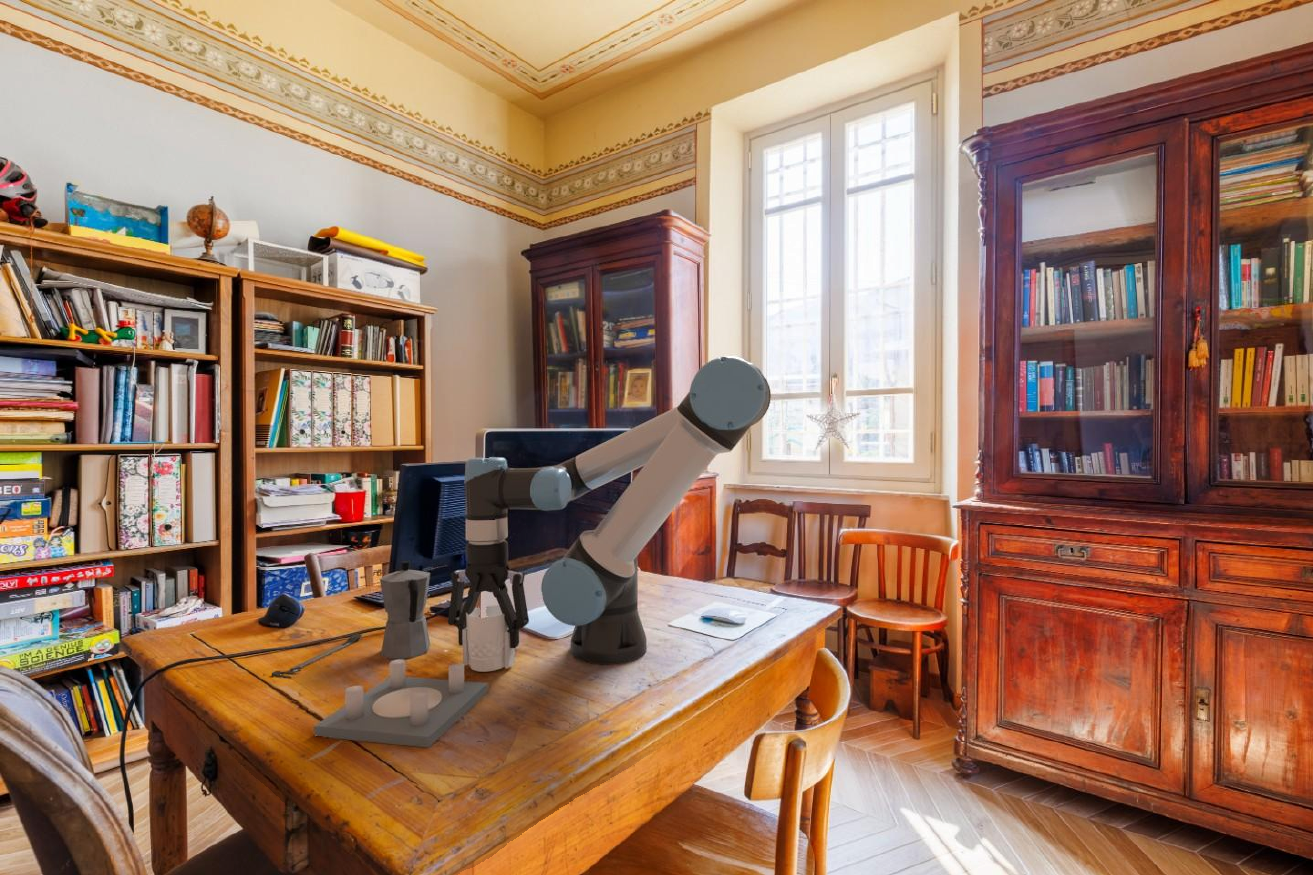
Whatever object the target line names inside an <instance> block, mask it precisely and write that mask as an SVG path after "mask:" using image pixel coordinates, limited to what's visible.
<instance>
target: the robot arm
mask: <svg viewBox="0 0 1313 875" xmlns="http://www.w3.org/2000/svg"><path fill="white" fill-rule="evenodd" d="M771 397H772V394H771V389H770V384H769V382H768V381H767V379H766V377H765V376H764V374H763V372H762V370H760V368H758V367H757V366H756V365H755V364H754V363H752V362H750V361H748V360H747V359H746V358H742V357H739V356H731V355H730V356H729V355H728V356H719V357H716V358H714V359H712V360H710V361H708V362H706V363H705V364H703V365H702V366H701V367H700V368H699V370H697V372H696V374H695V375H694V377H693V379H692V381H691V384H690V388H689V391H688V393H686V396H685V397H684V398H683V399H682V401H681V402H680V404H679V405H678V406H676V407H673V408H672V409H669V410H668V411H666V412H663V413H662V414H659V415H656V417H654V418H651V419H649V420H647V421H646V422H643V423H640V424H639V425H637V426H634V427H633V428H631V429H629V430H627V431H624V432H622V433H621V434H619V435H617V436H614V437H612V438H610V439H609V440H607V441H605V442H602V443H599V444H598V445H596V446H594V447H592V448H590V449H588V450H586V451H584V452H582V453H580V454H578V455H576V456H574V457H572V458H570V459H569V458H568V460H565V461H563V462H560V463H559V464H555V465H550V466H541V467H528V468H527V467H525V468H523V467H522V468H514V467H509V466H508V461H507V459H506V458H505V457H501V456H500V457H499V456H497V457H496V456H490V457H489V456H488V457H489V458H482V457H472V458H469V459H468V460H467V461H466V462H465V467H464V468H465V471H464V481H463V484H464V492H465V493H464V495H465V496H464V497H465V540H466V541H468V542H467V543H466V544H465V561H466V567H465V568H464V569H458V570H455V571H454V572H451V573H450V579H451V584H452V585H451V586H452V588H451V594H450V601H449V610H448V617H447V618H448V619H447V623H448V625H449V626H454V627H457V630H458V636H457V637H458V645H459V646H461V647H462V664H464V666H469V665H470V660H469V651H468V640H467V624H466V613H468V615H469V614H471V613H472V612H473V611H474V608H476V606H477V603H478V600H479V598H480V595H481V594H482V593H483V592H488V593H492V595H493V596H494V598H495V599H496V601H497V604H498V605H499V606H500V609H501V611H502V614H504V619H505V622H506V624H507V627H508V630H506V631H505V632H504V639H505V666H504V668H507V669H509V668H510V667H511V666H513V665H514V664H515V663H516V650H515V649H516V648H517V647H519V644H520V629H523V628H524V627H526V625H528V624H530V623H529V622H530V619H529V613H528V608H527V601H526V594H525V587H524V582H525V572H524V571H519V572H517V571H513V570H511V568H510V566H509V564H508V563H509V542H508V541H507V540H506V539H507V538H508V536H509V535H508V534H509V530H508V525H509V524H508V510H531V511H532V510H534V511H535V510H536V511H538V510H539V511H545V512H548V511H557V510H559V511H560V510H563V509H564V508H566V507H567V505H568V503H569V502H571V501H574V500H577V499H579V498H581V497H582V496H583V495H585V494H587V493H589V492H591V491H593V490H594V489H598V488H599V487H601V486H603V485H605V484H608V483H610V482H612V481H614V480H616V479H618V478H620V477H623V476H625V475H627V474H629V473H631V472H634V471H635V470H638V469H640V468H641V469H640V471H639V472H638V473H637V475H636V476H635V477H634V479H632V481H631V482H630V484H629V485H628V486H627V487H626V488H625V490H624V492H623V493H622V494H621V495H620V497H619V498H618V500H617V501H616V502H615V503H614V504H613V506H612V507H611V508H610V509H609V511H608V512H607V514H606V515H605V516H604V518H602V520H601V521H600V523H599V524H598V525H597V526H596V528H595V529H592V530H584V531H582V532H581V534H580V535H579V536H578V537H577V539H576V540H575V541H574V543H573V544H572V545H571V546H570V547H569V549H568V550H567V552H566V553H565V554H564V555H563V557H561V558H560V559H557V560H556V561H554V562H553V563H551V564H550V566H549V567H548V569H547V570H546V571H545V573H544V575H543V577H542V581H541V585H540V586H541V588H540V590H541V595H542V600H543V603H544V605H545V607H546V609H547V610H548V612H549V613H550V615H552V616H553V617H554V618H555V619H556V620H558V621H559V622H560V623H563V624H565V625H568V626H573V627H574V628H573V632H572V635H571V636H570V637H571V638H570V642H569V644H570V647H569V648H570V652H569V653H570V654H571V656H572V657H573V658H575V659H577V660H579V661H580V662H584V663H590V664H597V665H612V664H613V665H614V664H621V663H627V662H631V661H634V660H636V659H639V658H641V657H642V656H643V655H644V654H646V652H647V642H648V641H647V636H646V632H645V629H644V627H643V626H644V625H643V624H642V623H643V622H642V621H641V618H640V614H639V608H638V603H639V602H638V601H639V600H638V597H639V596H638V590H639V589H638V588H639V587H638V578H639V576H638V572H639V571H638V568H639V567H638V562H639V561H638V560H639V559H638V557H639V554H640V553H641V552H642V550H643V549H644V548H645V546H646V545H647V544H648V543H649V542H650V541H651V539H652V538H653V537H654V536H655V533H656V532H657V531H658V530H659V529H660V528H661V526H662V525H663V524H664V522H665V521H666V520H667V519H668V517H669V516H670V514H672V512H673V511H674V510H675V508H676V507H677V506H678V505H679V503H680V502H681V500H683V498H684V497H685V496H686V494H687V493H688V492H689V491H690V489H691V488H692V487H693V486H694V484H695V483H696V482H697V481H698V479H699V478H701V475H702V474H703V473H704V472H705V470H706V469H707V468H708V466H709V465H710V464H711V462H712V461H714V459H715V458H716V456H717V455H719V454H724V453H730V452H732V451H733V450H734V448H735V447H736V446H737V445H738V443H739V442H740V441H741V439H743V437H744V435H745V434H746V433H747V432H748V430H750V428H751V427H752V426H754V425H755V424H757V423H759V422H760V421H761V420H762V419H764V417H765V415H766V413H767V412H768V410H769V407H770V404H771ZM489 519H495V520H489ZM508 579H509V583H510V584H511V590H512V591H511V593H512V599H513V603H512V601H511V598H510V596H509V592H508V591H509V590H508V586H507V585H506V584H507V583H506V581H507V580H508ZM466 580H468V581H469V583H470V586H469V588H468V591H467V596H466V599H465V603H464V605H463V600H464V593H465V586H466V585H465V583H466V582H465V581H466Z"/></svg>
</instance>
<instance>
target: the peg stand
mask: <svg viewBox="0 0 1313 875" xmlns="http://www.w3.org/2000/svg"><path fill="white" fill-rule="evenodd" d="M488 692H489V682H481V681H480V682H479V681H468V680H467V681H465V665H464V664H463V663H453V664H450V665H449V666H448V679H441V678H440V679H438V678H426V677H417V676H416V677H413V676H406V660H405V659H392V660H391V661H390V662H389V676H388V677H387V678H385V679H384V680H382V681H381V682H379V683H378V684H376V685H374V686H372V688H370V689H368V690H367V691H365V692H364V687H363V686H361V685H353V686H350V687H347V688H345V690H344V706H343V707H341V708H339V709H337V710H336V711H334V712H333V713H331V714H329V716H327V717H325V718H324V719H322V720H321V721H319V722H318V723H317V724H315V725H313V736H314V735H317V736H324V737H323V738H326V737H329V738H328V739H337V740H347V741H358V742H367V743H378V744H389V745H397V746H398V745H399V746H407V747H409V746H410V747H418V748H419V747H420V748H430V747H432V745H434V744H435V742H436V741H438V740H439V739H440V738H442V737H443V735H444V734H446V732H447V731H448V730H450V729H451V728H452V727H453V726H454V725H455V724H456V722H458V721H459V720H460V719H461V718H463V716H465V714H466V713H467V712H469V711H470V709H472V708H473V707H474V706H475V705H476V704H478V702H479V701H481V700H482V699H483V697H484V696H486V695H487V694H488Z"/></svg>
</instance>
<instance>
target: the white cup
mask: <svg viewBox="0 0 1313 875" xmlns="http://www.w3.org/2000/svg"><path fill="white" fill-rule="evenodd" d="M486 606H487V607H486V608H487V609H486V614H487V615H486V616H488V617H485V618H480V617H479V615H480V612H481V610H480V608H479V607H480V606H478V608H477V607H475V608H474V611H473V612H472V613H471V614H469V615H468V613H466V624H467V640H468V651H469V660H470V663H469V668H471V670H472V671H476V672H480V673H481V672H483V673H484V672H485V673H486V672H494V671H497V670H501V669H503V668H505V639H504V632H505V631H506V630H508V627H507V624H506V622H505V619H504V614H502V611H501V609H500V606H499V604H498V605H496V604H495V605H494V604H493V605H486Z"/></svg>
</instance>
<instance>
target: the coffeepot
mask: <svg viewBox="0 0 1313 875" xmlns="http://www.w3.org/2000/svg"><path fill="white" fill-rule="evenodd" d="M410 563H411V561H409V560H404V561H401V563H400V565H401V568H402V570H398V571H394V572H392V573H391V572H390V573H388V574H384V575H383V576H381V578H380V579H379V583H380V588H381V594H382V600H383V607H384V611H385V612H386V613H387V621H386V622H385V628H384V634H383V640H382V646H381V650H380V655H381V656H382V657H383V658H385V659H389V660H398V659H403V660H405V659H411V658H415V657H420V656H422V655H424V654H426V653H427V652H428V651H429V650H430V646H431V639H430V635H429V629H428V625H427V620H426V619H427V618H426V616H425V613H424V612H425V608H426V605H427V600H428V599H427V598H428V591H429V585H430V579H431V578H430V577H431V573H430V572H427V571H422V570H415V569H410Z"/></svg>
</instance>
